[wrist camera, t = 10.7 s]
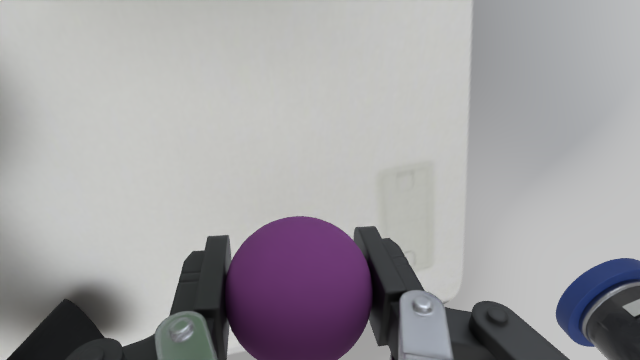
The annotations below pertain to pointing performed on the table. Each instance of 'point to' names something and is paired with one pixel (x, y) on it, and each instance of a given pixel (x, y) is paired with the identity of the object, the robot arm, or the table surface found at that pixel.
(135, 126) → the table surface
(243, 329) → the plum ball
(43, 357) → the telephone
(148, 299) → the table surface
